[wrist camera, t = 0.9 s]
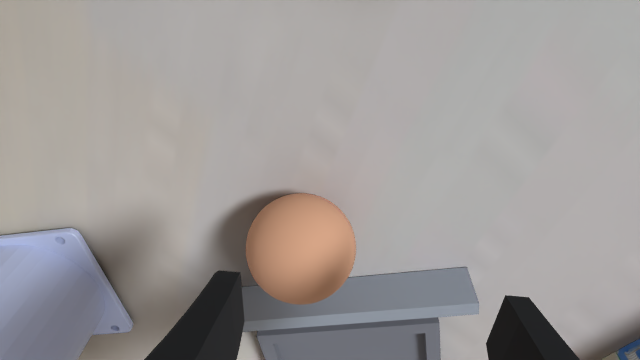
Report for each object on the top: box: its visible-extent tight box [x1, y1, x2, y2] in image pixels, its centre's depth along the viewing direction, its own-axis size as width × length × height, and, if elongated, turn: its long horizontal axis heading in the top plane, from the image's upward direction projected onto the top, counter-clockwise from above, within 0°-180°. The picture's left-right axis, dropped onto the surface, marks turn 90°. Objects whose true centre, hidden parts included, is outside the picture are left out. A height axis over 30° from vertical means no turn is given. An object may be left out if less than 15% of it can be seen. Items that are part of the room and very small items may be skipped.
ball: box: [246, 193, 356, 305], centre depth 20 cm, size 5×5×5 cm
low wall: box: [242, 267, 479, 332], centre depth 23 cm, size 14×1×2 cm, turn 100°
